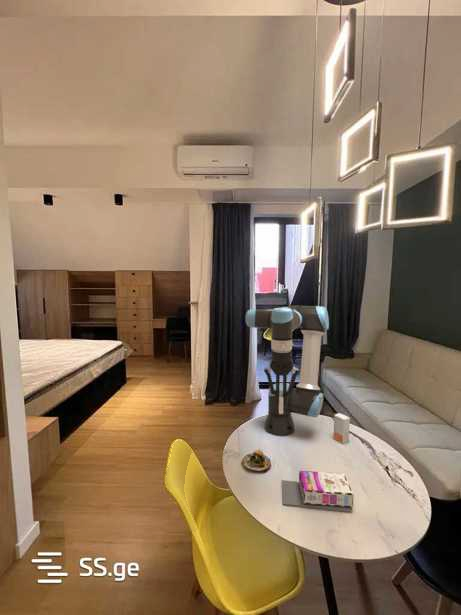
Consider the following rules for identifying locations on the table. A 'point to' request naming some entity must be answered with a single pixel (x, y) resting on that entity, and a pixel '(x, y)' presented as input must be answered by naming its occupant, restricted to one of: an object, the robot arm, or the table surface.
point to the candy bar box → (325, 489)
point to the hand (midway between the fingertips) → (280, 412)
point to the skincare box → (341, 428)
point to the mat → (295, 499)
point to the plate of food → (257, 461)
